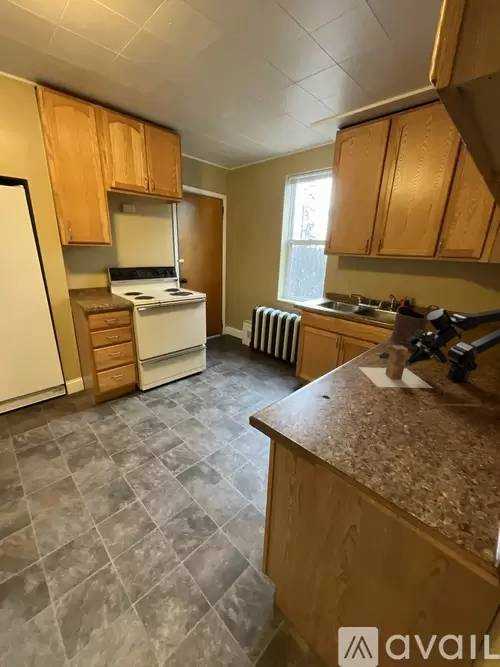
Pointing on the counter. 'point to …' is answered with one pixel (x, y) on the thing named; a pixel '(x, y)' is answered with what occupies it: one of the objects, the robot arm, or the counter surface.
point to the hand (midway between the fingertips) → (408, 362)
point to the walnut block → (396, 362)
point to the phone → (386, 356)
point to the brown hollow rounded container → (408, 325)
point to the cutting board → (384, 381)
